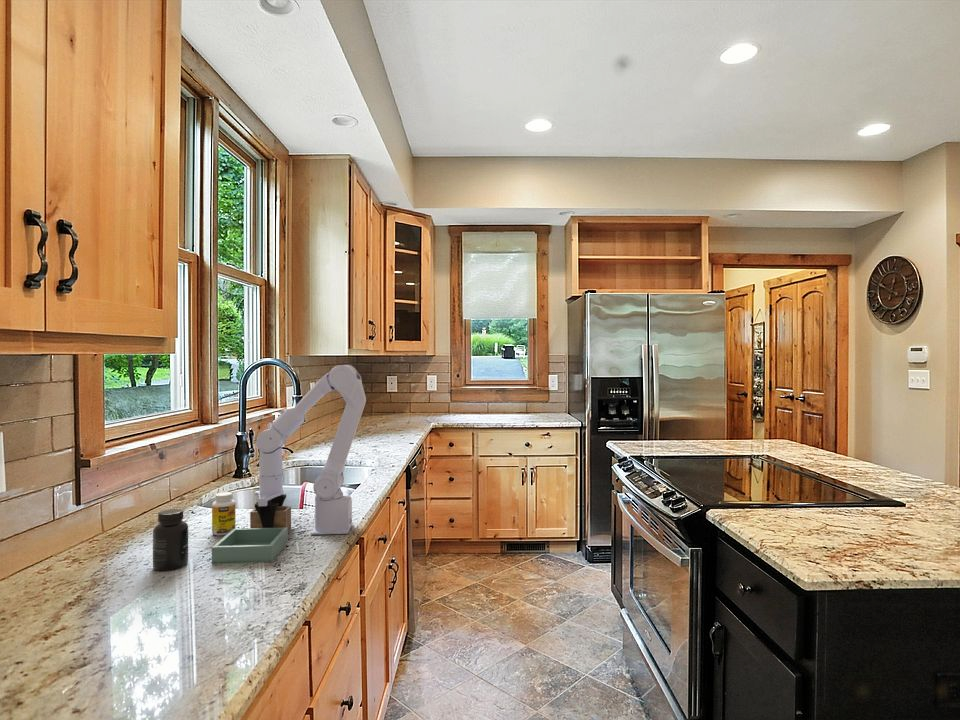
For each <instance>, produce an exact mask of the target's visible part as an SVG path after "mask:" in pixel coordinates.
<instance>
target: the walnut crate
mask: <svg viewBox="0 0 960 720" xmlns="http://www.w3.org/2000/svg"><path fill="white" fill-rule="evenodd" d="M249 514H250V515H249V516H250V517H249V526H250V527H249V528H263V527H262V523H261V519H260V516H259V514H258V512H257V510H256V509H255V507H254V508H253V509H252V510H251V511H250V513H249ZM287 527H288V532H289V531H291V529H292V505H283V506H277V509H276V512H275V516H274V524H273V528H287ZM290 528H291V529H290Z"/></svg>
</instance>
